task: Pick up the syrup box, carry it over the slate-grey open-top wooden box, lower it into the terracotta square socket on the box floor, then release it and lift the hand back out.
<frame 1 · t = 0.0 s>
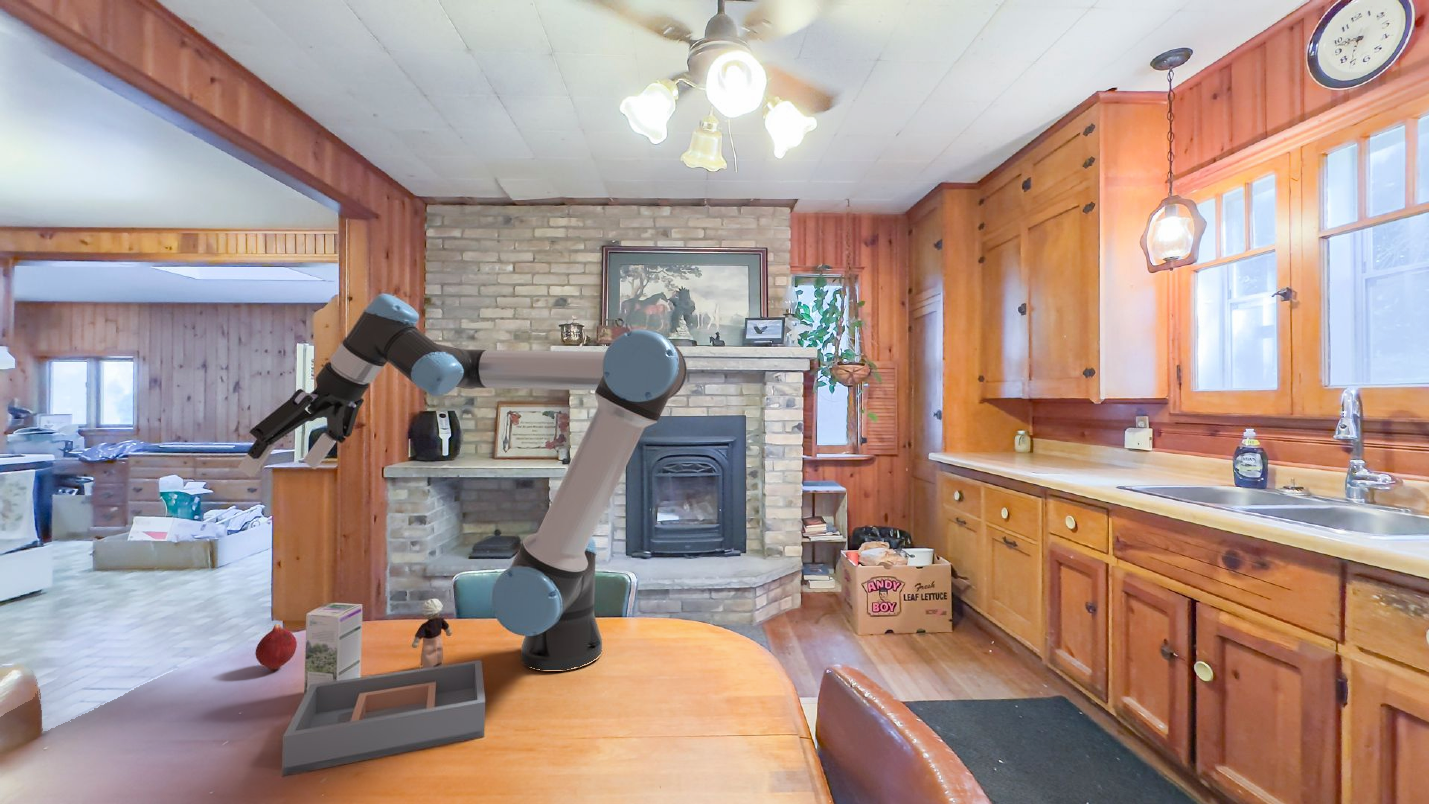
hand: (279, 468, 102), 36 cm above the table, tool tilted 35°, fingers open, 13 cm apart
syrup box: (332, 698, 93), on the table
walled box: (394, 727, 85), on the table
grandmother figurine: (429, 671, 103), on the table
onion: (275, 670, 102), on the table
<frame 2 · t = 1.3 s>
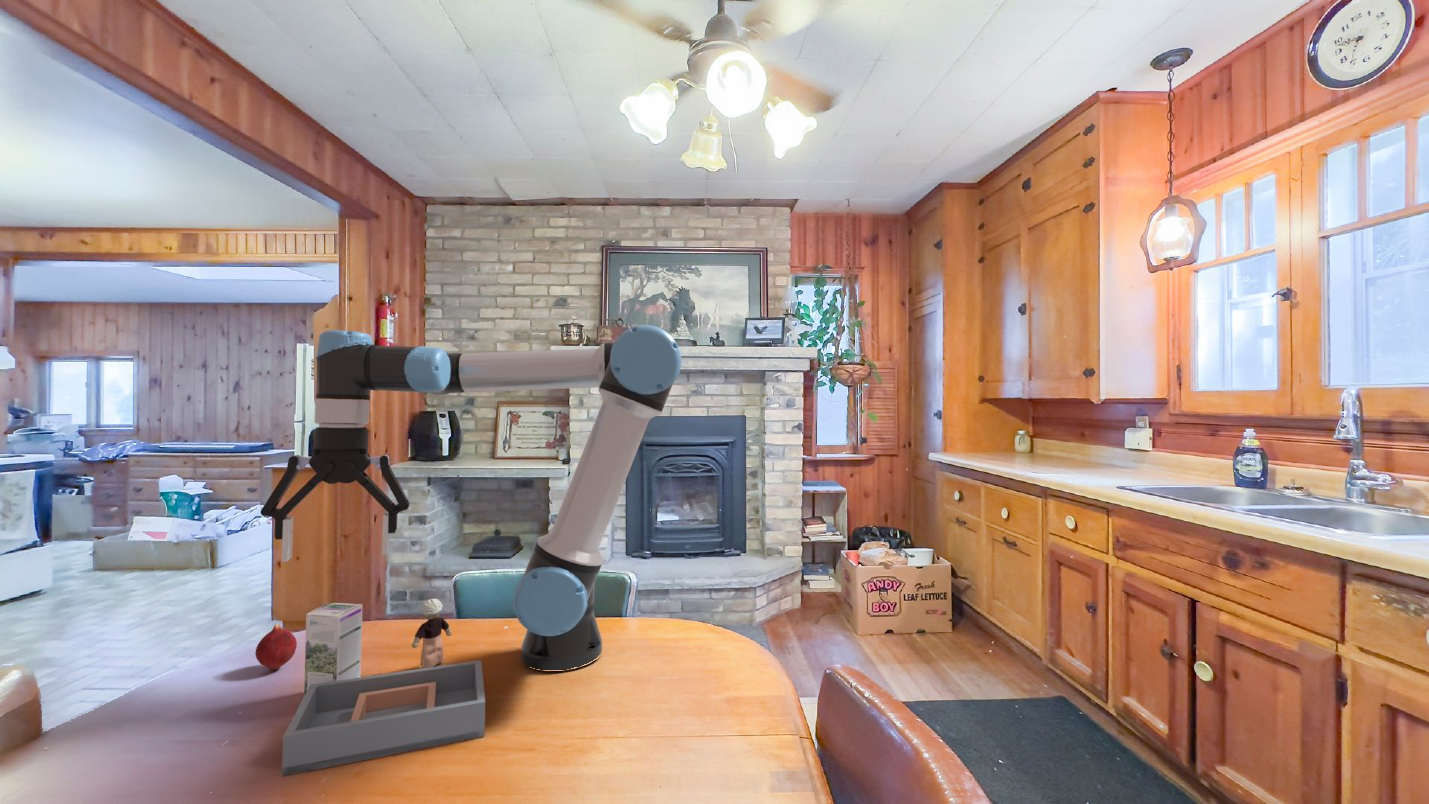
hand: (337, 556, 94), 23 cm above the table, tool pointing down, fingers open, 13 cm apart
nothing on the table moved.
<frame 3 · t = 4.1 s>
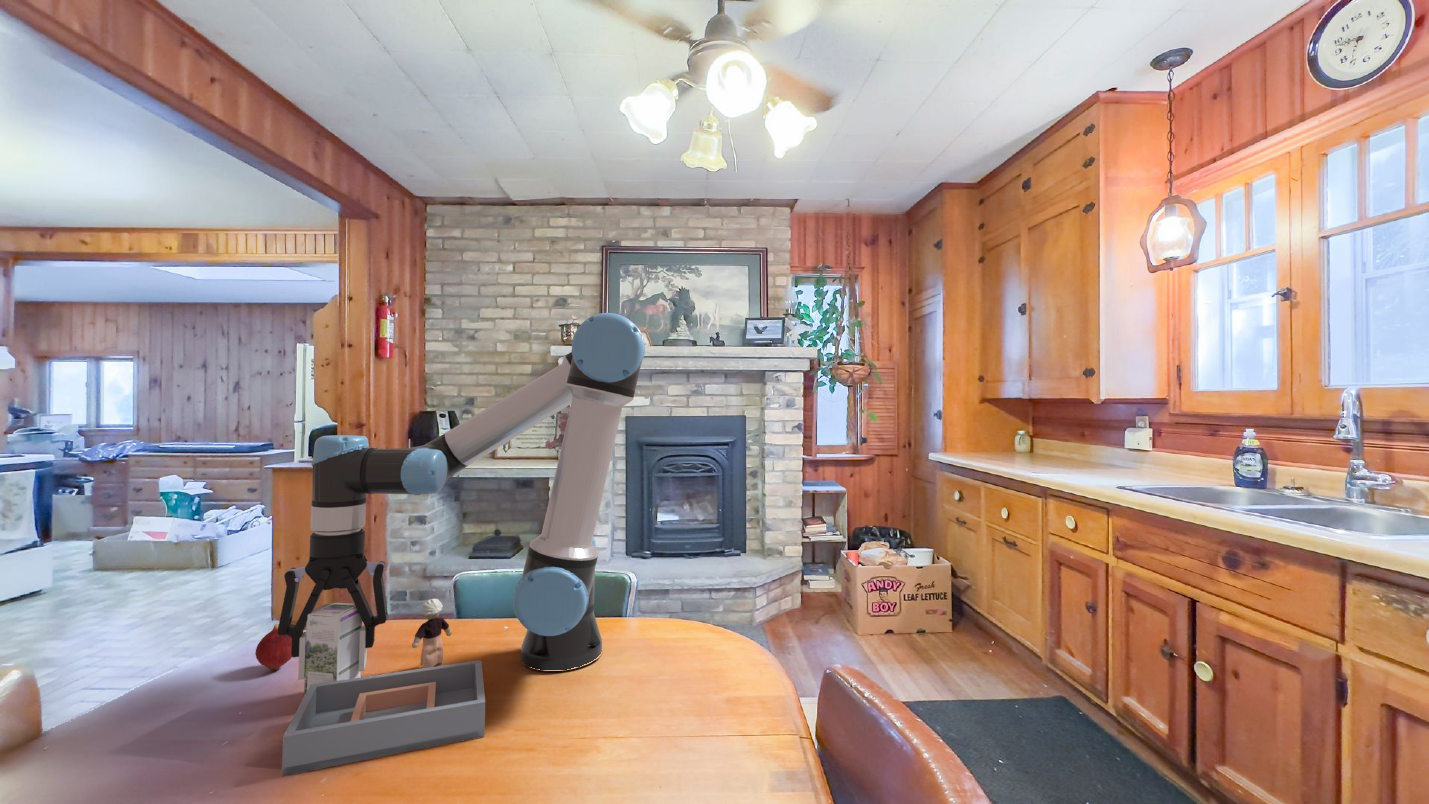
hand: (333, 671, 93), 4 cm above the table, tool pointing down, fingers closed on syrup box, 7 cm apart
syrup box: (332, 698, 93), on the table, touching gripper
everything else where it was.
when the fingers open (6 cm above the table, at t = 10.1 s): syrup box stays where it is, resting on walled box.
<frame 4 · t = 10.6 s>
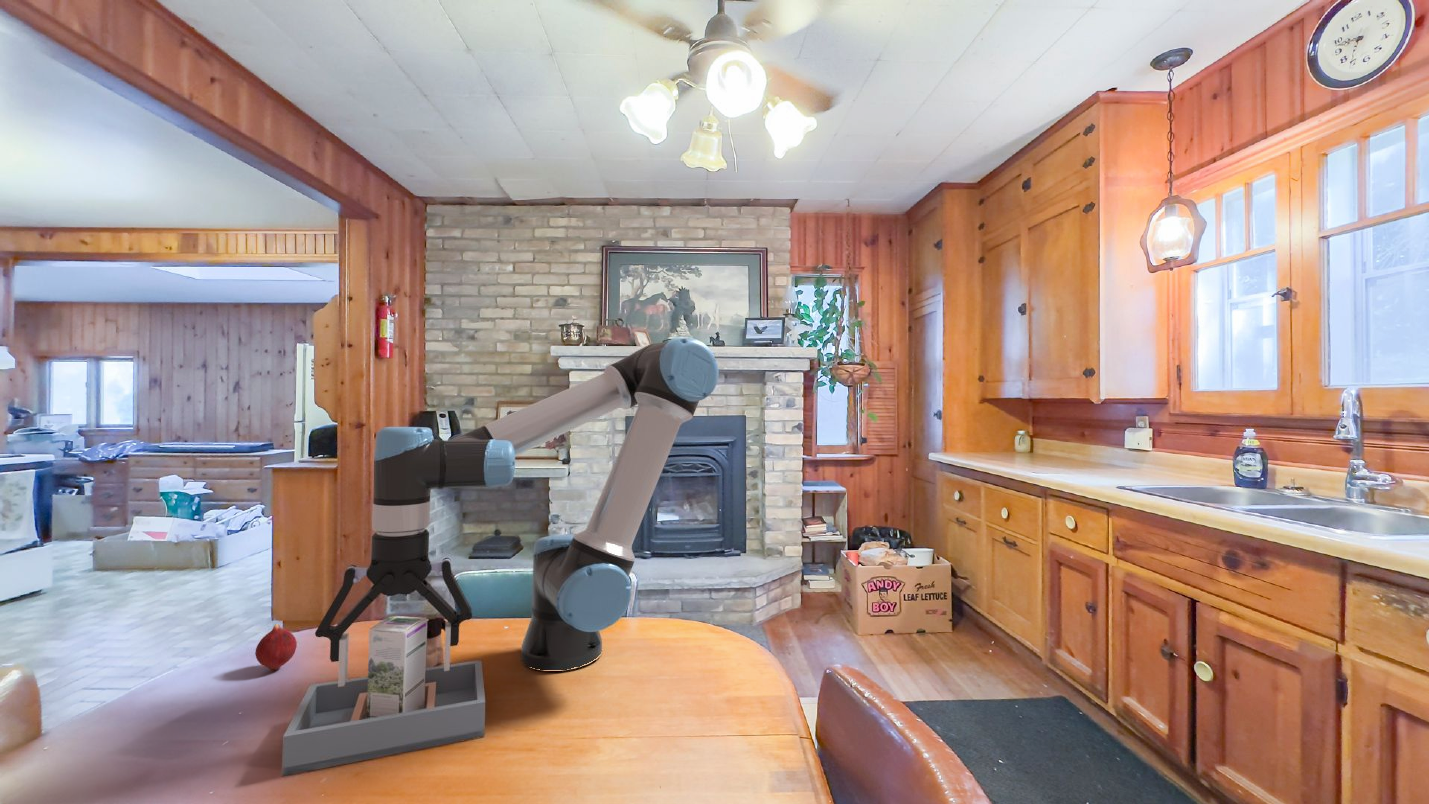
hand: (396, 674, 85), 8 cm above the table, tool pointing down, fingers open, 13 cm apart
syrup box: (395, 721, 85), point 1 cm above the table, touching walled box
everything else where it was.
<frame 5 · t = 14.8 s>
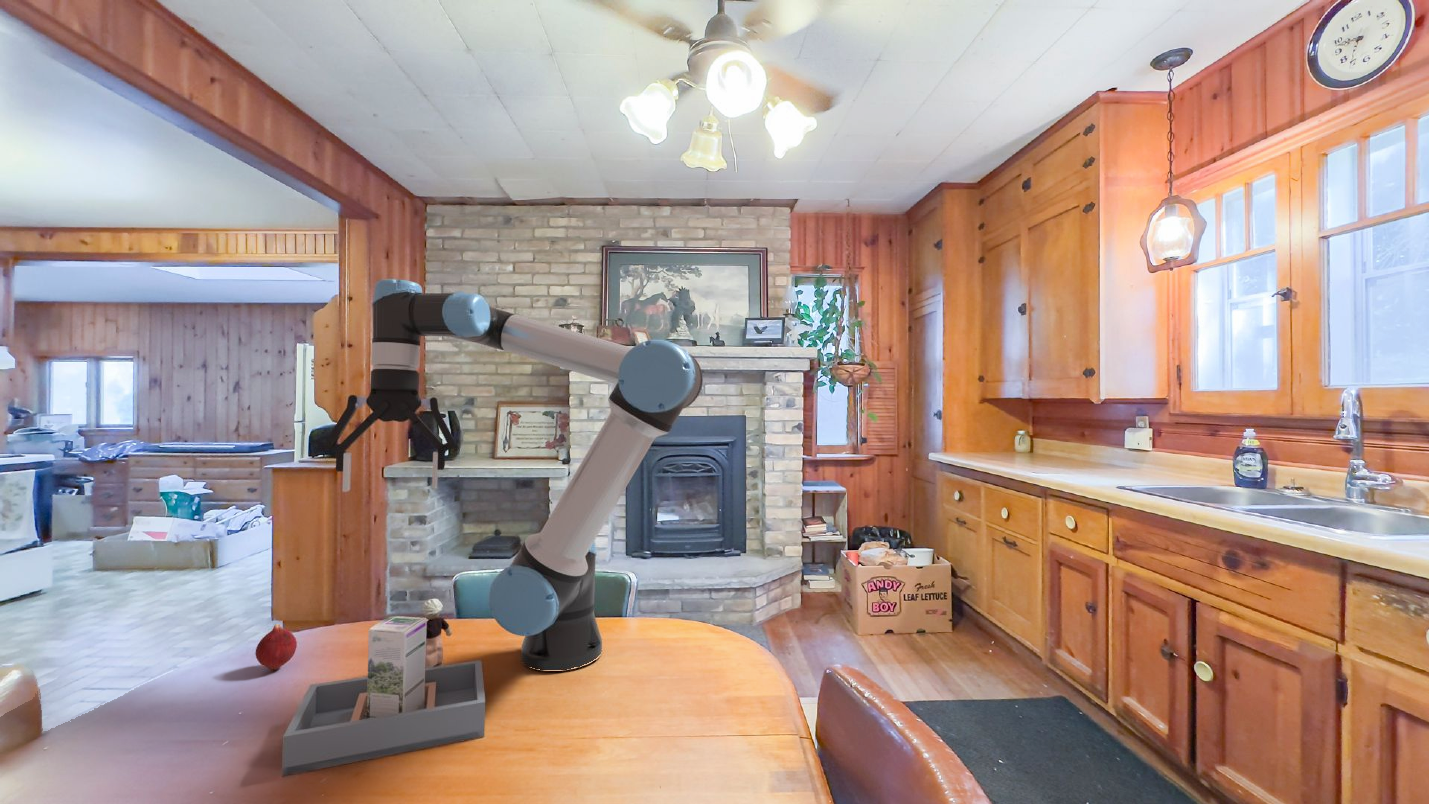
hand: (391, 489, 101), 33 cm above the table, tool pointing down, fingers open, 13 cm apart
nothing on the table moved.
at the end: syrup box 0.1 cm off-centre on the walled box, point 0.8 cm above the walled box's base; syrup box tilted 0°; the gripper is holding nothing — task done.
